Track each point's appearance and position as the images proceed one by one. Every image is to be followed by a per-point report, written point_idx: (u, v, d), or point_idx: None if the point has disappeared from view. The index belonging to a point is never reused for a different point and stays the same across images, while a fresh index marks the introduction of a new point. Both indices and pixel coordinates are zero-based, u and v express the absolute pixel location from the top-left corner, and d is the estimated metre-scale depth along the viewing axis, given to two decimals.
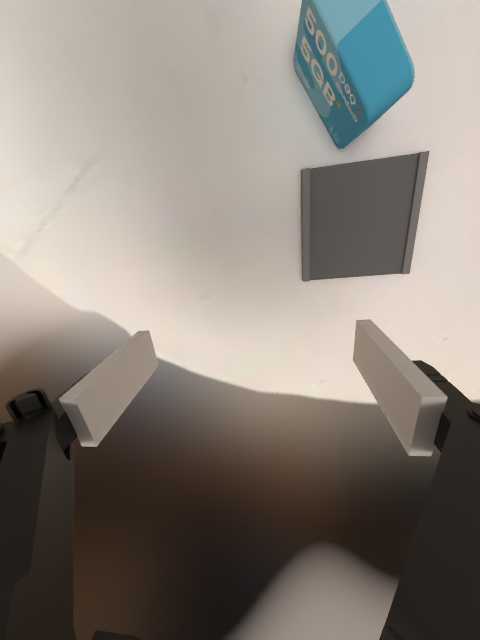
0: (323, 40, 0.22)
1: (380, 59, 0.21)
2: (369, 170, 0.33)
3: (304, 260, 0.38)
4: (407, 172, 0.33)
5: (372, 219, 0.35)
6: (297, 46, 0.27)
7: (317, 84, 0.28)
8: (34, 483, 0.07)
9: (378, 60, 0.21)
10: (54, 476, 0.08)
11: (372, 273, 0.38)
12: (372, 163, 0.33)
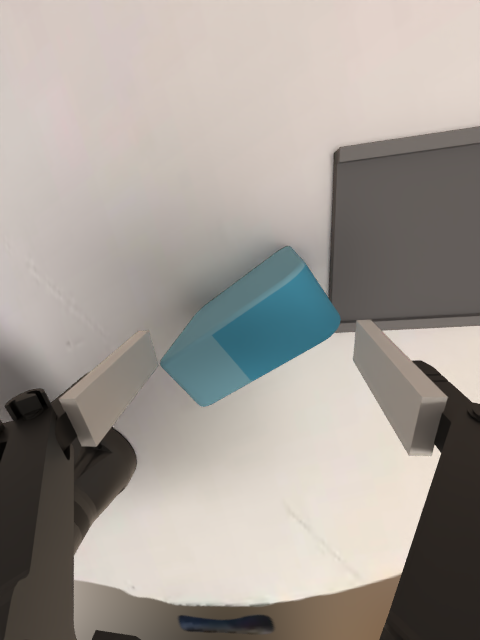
0: None
1: (274, 327, 0.14)
2: (347, 238, 0.21)
3: (469, 324, 0.23)
4: (363, 174, 0.20)
5: (428, 218, 0.20)
6: None
7: None
8: (33, 483, 0.07)
9: (274, 331, 0.14)
10: (54, 476, 0.08)
11: None
12: (339, 235, 0.21)
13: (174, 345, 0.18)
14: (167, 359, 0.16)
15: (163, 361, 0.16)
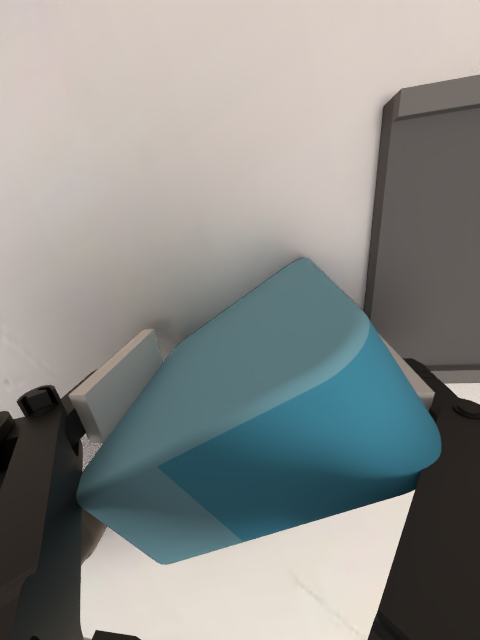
0: None
1: (294, 463, 0.06)
2: (400, 246, 0.14)
3: None
4: (435, 139, 0.12)
5: None
6: None
7: None
8: (43, 479, 0.07)
9: (294, 469, 0.06)
10: (63, 472, 0.08)
11: None
12: (386, 242, 0.14)
13: (113, 436, 0.11)
14: (80, 492, 0.08)
15: None
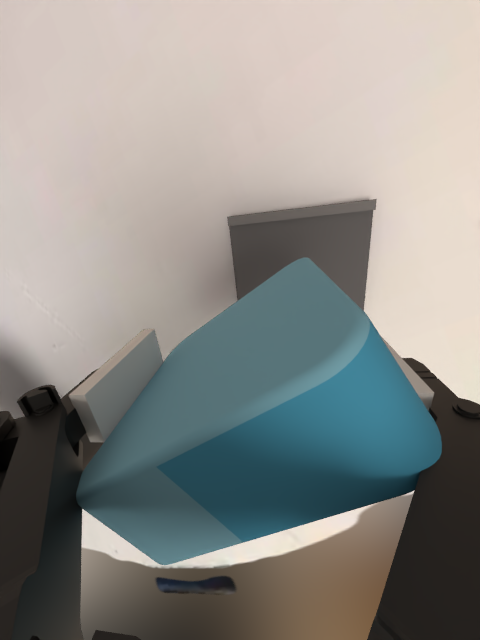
0: None
1: (294, 463, 0.06)
2: (243, 274, 0.30)
3: None
4: (247, 233, 0.28)
5: None
6: None
7: None
8: (43, 479, 0.07)
9: (294, 470, 0.06)
10: (63, 472, 0.08)
11: (366, 249, 0.28)
12: (237, 272, 0.30)
13: (113, 436, 0.11)
14: (79, 492, 0.08)
15: None
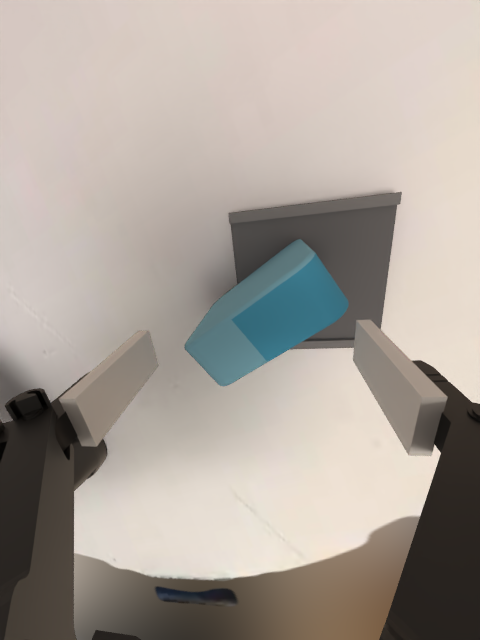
0: None
1: (287, 311, 0.15)
2: None
3: (349, 346, 0.28)
4: (251, 231, 0.25)
5: None
6: None
7: None
8: (34, 483, 0.07)
9: (287, 315, 0.16)
10: (54, 476, 0.08)
11: (387, 250, 0.24)
12: (240, 276, 0.27)
13: (196, 331, 0.20)
14: (191, 342, 0.18)
15: (187, 344, 0.18)
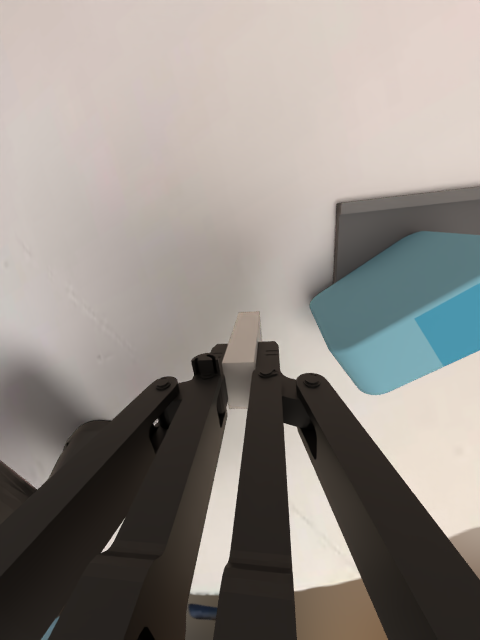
0: None
1: None
2: None
3: None
4: (361, 223, 0.23)
5: None
6: None
7: None
8: (191, 448, 0.07)
9: None
10: (206, 444, 0.08)
11: None
12: (340, 272, 0.25)
13: (333, 333, 0.18)
14: (351, 345, 0.15)
15: (343, 348, 0.16)
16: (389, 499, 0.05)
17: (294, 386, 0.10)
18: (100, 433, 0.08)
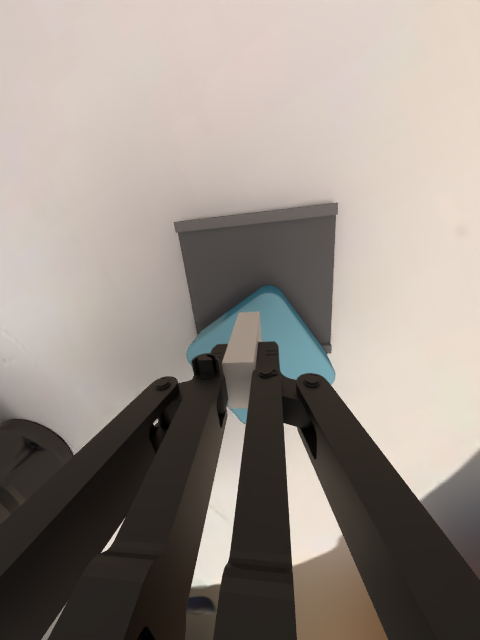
0: None
1: None
2: (198, 286, 0.27)
3: None
4: (198, 240, 0.25)
5: (253, 272, 0.26)
6: None
7: None
8: (191, 448, 0.07)
9: None
10: (206, 445, 0.08)
11: (330, 258, 0.25)
12: (191, 283, 0.27)
13: (239, 410, 0.27)
14: None
15: None
16: (389, 499, 0.05)
17: (294, 386, 0.10)
18: (100, 433, 0.08)
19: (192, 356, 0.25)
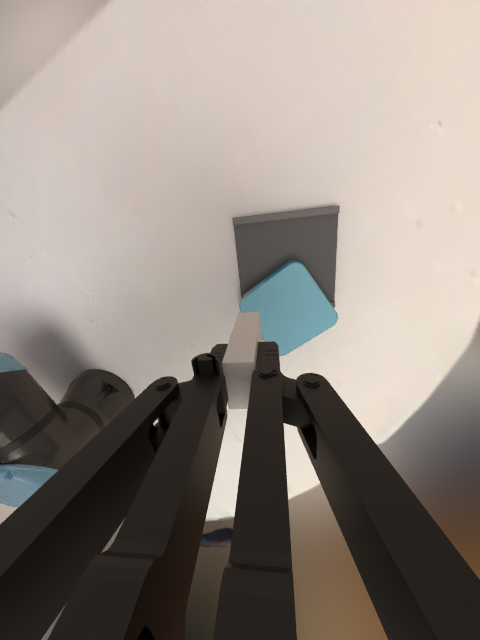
0: None
1: None
2: (244, 261, 0.40)
3: None
4: (247, 230, 0.38)
5: (282, 251, 0.39)
6: None
7: None
8: (191, 448, 0.07)
9: None
10: (206, 445, 0.08)
11: (334, 241, 0.38)
12: (240, 260, 0.40)
13: None
14: (284, 354, 0.40)
15: (281, 354, 0.40)
16: (389, 499, 0.05)
17: (294, 386, 0.10)
18: (100, 433, 0.08)
19: (243, 306, 0.38)
